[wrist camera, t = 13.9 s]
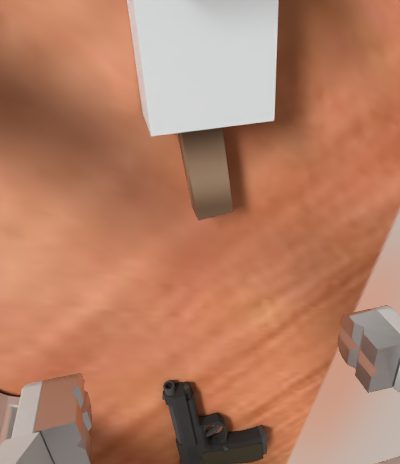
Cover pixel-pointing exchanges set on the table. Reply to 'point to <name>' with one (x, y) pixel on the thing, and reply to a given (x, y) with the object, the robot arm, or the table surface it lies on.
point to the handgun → (209, 432)
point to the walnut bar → (206, 172)
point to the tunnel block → (204, 62)
